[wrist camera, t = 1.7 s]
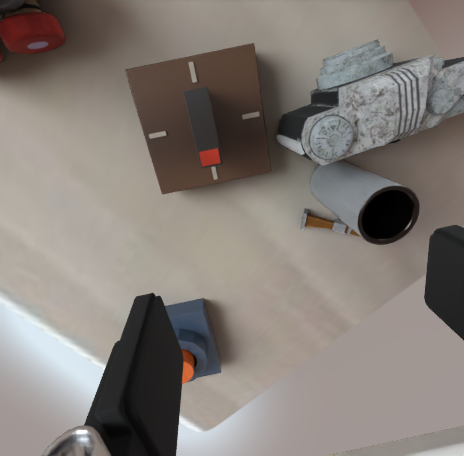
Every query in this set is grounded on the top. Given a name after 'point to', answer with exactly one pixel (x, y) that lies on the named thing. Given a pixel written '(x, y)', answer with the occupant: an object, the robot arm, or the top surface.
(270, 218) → the top surface
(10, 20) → the toy fire truck
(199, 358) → the button box
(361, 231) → the grey hollow tube
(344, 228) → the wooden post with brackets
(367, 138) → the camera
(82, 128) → the top surface
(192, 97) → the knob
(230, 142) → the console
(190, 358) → the button
